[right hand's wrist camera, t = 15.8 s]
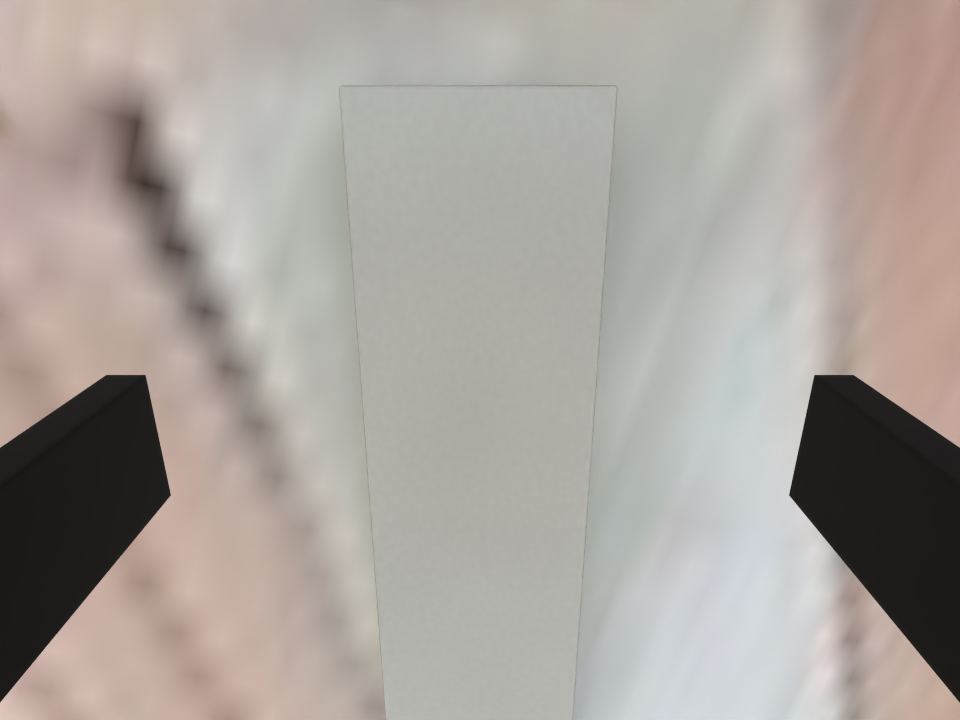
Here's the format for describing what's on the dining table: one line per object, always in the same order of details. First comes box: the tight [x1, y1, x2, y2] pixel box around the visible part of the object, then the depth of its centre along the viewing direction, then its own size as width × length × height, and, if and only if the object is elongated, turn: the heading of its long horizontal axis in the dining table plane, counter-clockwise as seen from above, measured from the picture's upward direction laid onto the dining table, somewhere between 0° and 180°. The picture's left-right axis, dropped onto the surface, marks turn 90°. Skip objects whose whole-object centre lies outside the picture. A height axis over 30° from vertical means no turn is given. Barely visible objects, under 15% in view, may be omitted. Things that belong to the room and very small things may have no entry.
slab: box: [339, 85, 617, 720], centre depth 39 cm, size 72×10×7 cm, turn 0°
